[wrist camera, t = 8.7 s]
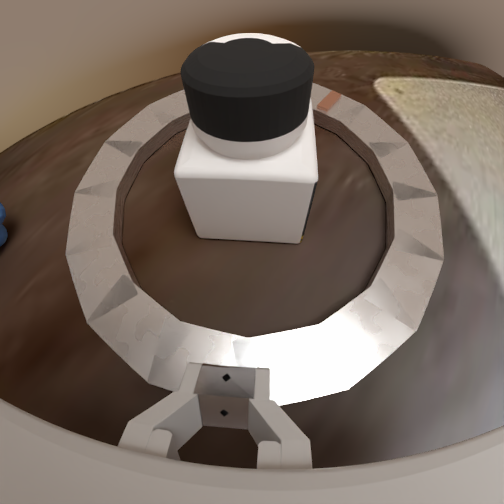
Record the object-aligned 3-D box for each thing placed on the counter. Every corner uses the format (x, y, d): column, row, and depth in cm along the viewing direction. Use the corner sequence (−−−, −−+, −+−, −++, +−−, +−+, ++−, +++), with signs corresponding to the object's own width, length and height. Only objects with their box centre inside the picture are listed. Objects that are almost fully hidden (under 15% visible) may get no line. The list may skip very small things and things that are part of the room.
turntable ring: (28, 244, 21) (16, 234, 19) (224, 65, 30) (222, 52, 28) (310, 485, 13) (316, 495, 12) (459, 175, 22) (468, 163, 21)
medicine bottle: (301, 245, 20) (339, 96, 9) (196, 239, 20) (142, 95, 9) (301, 165, 23) (320, 26, 12) (212, 161, 23) (187, 25, 12)
